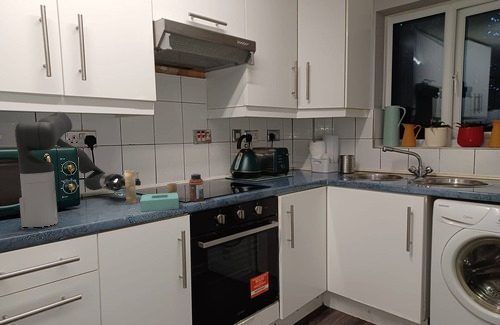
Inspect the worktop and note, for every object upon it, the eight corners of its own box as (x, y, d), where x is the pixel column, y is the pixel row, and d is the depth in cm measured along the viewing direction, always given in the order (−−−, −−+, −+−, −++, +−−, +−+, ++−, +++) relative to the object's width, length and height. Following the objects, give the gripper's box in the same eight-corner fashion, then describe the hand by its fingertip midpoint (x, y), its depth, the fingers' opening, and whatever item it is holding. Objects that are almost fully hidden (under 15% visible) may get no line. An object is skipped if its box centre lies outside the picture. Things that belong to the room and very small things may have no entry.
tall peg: (126, 204, 139) (123, 170, 138) (127, 202, 143) (125, 170, 142) (136, 203, 140) (134, 170, 139) (136, 201, 144) (134, 169, 143)
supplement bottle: (187, 200, 143) (185, 174, 142) (198, 198, 147) (197, 173, 146) (195, 202, 139) (194, 175, 138) (206, 200, 143) (205, 174, 142)
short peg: (168, 200, 144) (167, 184, 143) (167, 199, 148) (167, 183, 147) (177, 200, 145) (176, 184, 144) (177, 198, 149) (176, 183, 148)
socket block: (140, 211, 124) (140, 201, 124) (143, 204, 138) (142, 194, 137) (179, 208, 127) (178, 198, 127) (177, 201, 141) (177, 192, 141)
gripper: (95, 175, 145) (113, 177, 135) (126, 172, 156) (145, 173, 146) (96, 192, 146) (114, 195, 135) (127, 187, 157) (146, 190, 146)
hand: (130, 184), depth 141 cm, fingers open, 8 cm apart
